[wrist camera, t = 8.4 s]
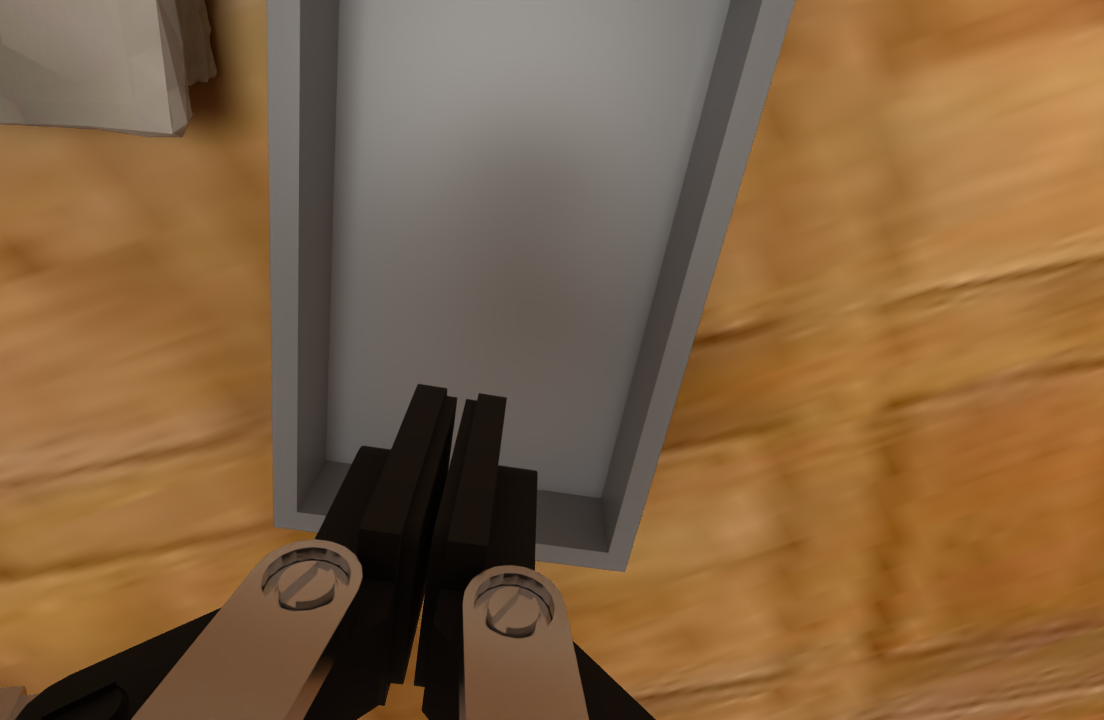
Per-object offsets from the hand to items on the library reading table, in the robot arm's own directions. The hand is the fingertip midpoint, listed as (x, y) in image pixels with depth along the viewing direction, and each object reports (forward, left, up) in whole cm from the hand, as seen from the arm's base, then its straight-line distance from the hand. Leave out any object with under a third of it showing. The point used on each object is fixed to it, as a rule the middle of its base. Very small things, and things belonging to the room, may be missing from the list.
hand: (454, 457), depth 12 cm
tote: (0, 0, -17) cm, 17 cm away
